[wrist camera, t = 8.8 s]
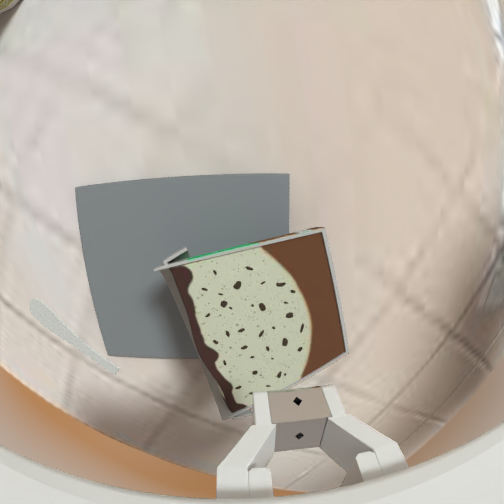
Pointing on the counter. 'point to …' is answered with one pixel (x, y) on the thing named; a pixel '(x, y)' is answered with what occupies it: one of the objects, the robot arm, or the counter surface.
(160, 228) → the mat
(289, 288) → the food container
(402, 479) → the robot arm
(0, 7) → the ceramic cup
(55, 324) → the butter knife
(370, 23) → the counter surface
